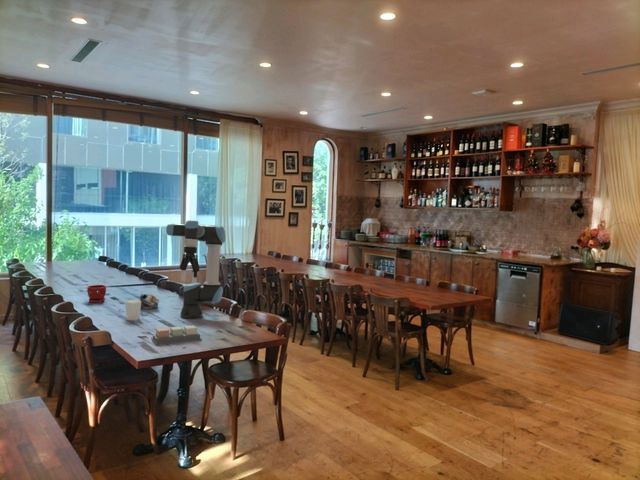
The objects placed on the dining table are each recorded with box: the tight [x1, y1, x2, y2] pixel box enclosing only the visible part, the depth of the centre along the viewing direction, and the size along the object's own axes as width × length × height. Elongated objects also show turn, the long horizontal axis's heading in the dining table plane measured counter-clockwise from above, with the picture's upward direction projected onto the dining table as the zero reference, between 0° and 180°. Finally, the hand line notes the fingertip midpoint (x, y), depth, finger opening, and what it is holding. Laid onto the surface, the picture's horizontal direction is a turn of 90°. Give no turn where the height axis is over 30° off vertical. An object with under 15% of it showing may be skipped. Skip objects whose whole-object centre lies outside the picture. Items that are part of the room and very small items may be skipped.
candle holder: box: [125, 299, 142, 321], centre depth 328 cm, size 10×10×12 cm
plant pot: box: [86, 284, 107, 303], centre depth 376 cm, size 13×13×12 cm
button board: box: [151, 331, 202, 346], centre depth 285 cm, size 12×26×3 cm, turn 121°
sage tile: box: [169, 326, 184, 336], centre depth 284 cm, size 6×6×4 cm
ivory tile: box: [183, 325, 198, 335], centre depth 289 cm, size 6×6×4 cm
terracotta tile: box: [155, 327, 170, 338], centre depth 280 cm, size 6×6×4 cm
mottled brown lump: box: [139, 293, 160, 310], centre depth 361 cm, size 15×12×14 cm
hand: (188, 282), depth 291 cm, fingers open, 13 cm apart
